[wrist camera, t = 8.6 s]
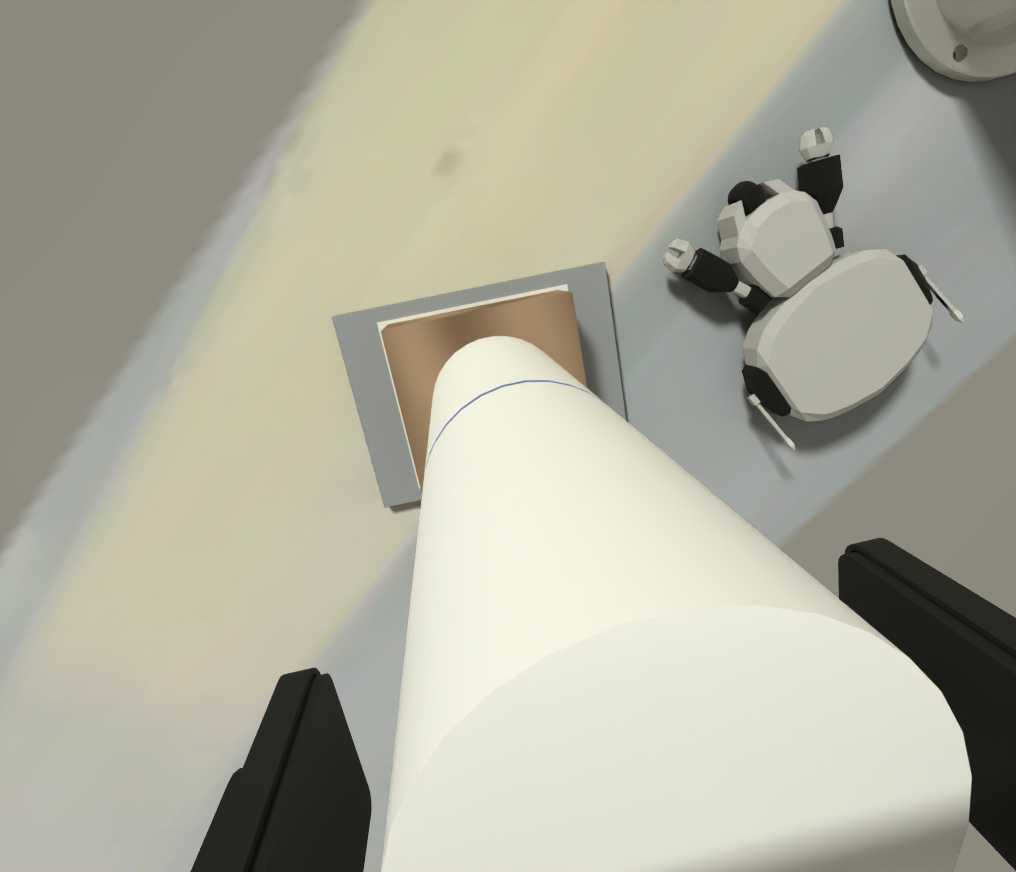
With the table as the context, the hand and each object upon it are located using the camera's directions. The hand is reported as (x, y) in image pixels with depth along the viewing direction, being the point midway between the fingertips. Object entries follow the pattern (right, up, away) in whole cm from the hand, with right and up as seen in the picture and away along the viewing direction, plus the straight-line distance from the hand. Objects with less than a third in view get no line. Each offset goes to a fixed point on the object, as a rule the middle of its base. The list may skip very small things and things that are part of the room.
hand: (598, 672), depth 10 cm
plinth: (-3, +7, +24) cm, 25 cm away
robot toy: (+16, +13, +26) cm, 33 cm away
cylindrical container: (-2, +6, +21) cm, 22 cm away
